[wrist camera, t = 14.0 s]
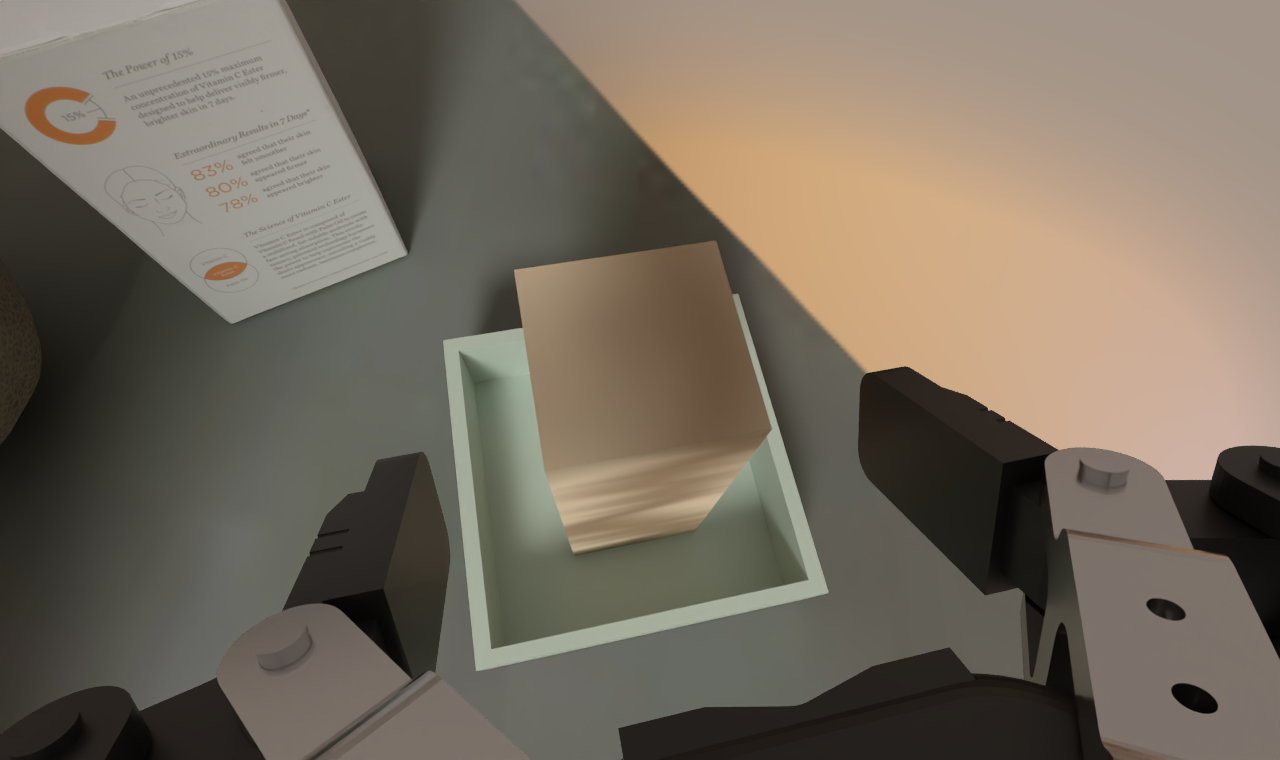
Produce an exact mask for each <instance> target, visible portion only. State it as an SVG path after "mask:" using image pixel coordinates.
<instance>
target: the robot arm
mask: <svg viewBox="0 0 1280 760" xmlns="http://www.w3.org/2000/svg"><path fill="white" fill-rule="evenodd" d="M858 452H859V459H860V462H861V466H862V468H863V471H864V473H865V474H866V476H867V478H868V479H869V480H870V481H871V482H872V483H873V484H874V485H875V486H876V487H877V488H878V489H879V490H880V491H881V492H882V493H883V494H884V495H885V496H886V497H887V498H888V499H889V500H890V501H891V502H892V503H893V504H894V505H895V506H896V507H897V508H898V509H899V510H900V511H901V512H902V513H903V514H904V515H905V516H906V517H907V518H908V519H909V520H910V521H911V522H912V523H913V524H914V525H915V526H916V527H917V528H918V529H919V530H920V531H921V532H922V533H923V534H924V535H925V536H926V537H927V538H928V539H929V540H930V541H931V542H932V543H933V544H934V545H935V546H936V547H937V548H938V549H939V550H940V551H941V552H942V553H943V554H944V555H945V556H946V557H947V558H948V559H949V560H950V561H951V562H952V563H953V564H954V565H955V566H956V567H957V568H958V569H959V570H960V571H961V572H962V573H963V574H964V575H965V576H966V577H967V578H968V579H969V580H970V581H971V582H972V583H973V584H974V585H975V586H976V587H977V588H978V589H979V590H980V591H981V592H982V593H983V594H984V595H989V594H993V593H997V592H1002V591H1006V590H1010V589H1014V588H1019V589H1020V590H1021V591H1023V597H1022V603H1021V610H1020V617H1021V637H1022V656H1023V675H1024V680H1022V679H1017V678H1012V677H1006V676H1000V675H989V674H971V673H970V671H969V670H968V669H967V668H966V667H965V665H964V664H963V663H962V662H961V661H960V659H959V658H958V657H957V656H956V655H955V653H954V652H953V651H952V650H951V649H950V647H949V648H945V649H941V650H937V651H933V652H929V653H925V654H921V655H917V656H913V657H908V658H904V659H900V660H896V661H892V662H888V663H884V664H880V665H876V666H872V667H870V668H868V669H867V670H865V671H863V672H861V673H859V674H858V675H856V676H854V677H852V678H850V679H848V680H847V681H845V682H843V683H841V684H839V685H838V686H836V687H834V688H832V689H830V690H828V691H827V692H825V693H823V694H821V695H819V696H818V697H816V698H814V699H812V700H810V701H809V702H806V703H804V704H802V705H797V706H781V707H704V708H700V709H696V710H691V711H687V712H683V713H679V714H675V715H671V716H667V717H663V718H659V719H655V720H651V721H646V722H642V723H638V724H634V725H630V726H626V727H622V728H618V729H619V735H620V741H621V747H622V753H623V759H621V760H1280V448H1276V447H1267V446H1239V447H1233V448H1229V449H1227V450H1224V451H1223V452H1221V453H1220V454H1219V457H1218V459H1217V463H1216V467H1215V470H1214V473H1213V477H1212V480H1164V478H1163V476H1162V475H1161V474H1160V473H1159V472H1158V471H1157V470H1156V469H1154V468H1153V467H1152V466H1150V465H1148V464H1146V463H1145V462H1143V461H1141V460H1138V459H1136V458H1133V457H1131V456H1128V455H1125V454H1121V453H1118V452H1114V451H1109V450H1103V449H1096V448H1068V449H1063V450H1057V449H1056V448H1054V447H1052V446H1051V445H1049V444H1047V443H1046V442H1044V441H1042V440H1041V439H1039V438H1037V437H1036V436H1034V435H1032V434H1031V433H1029V432H1027V431H1026V430H1024V429H1022V428H1021V427H1019V426H1017V425H1016V424H1014V423H1012V422H1011V421H1005V418H1004V417H1002V416H1001V415H999V414H997V413H995V412H994V411H992V410H991V411H988V408H987V407H986V406H984V405H982V404H981V403H979V402H977V401H976V400H974V399H972V398H971V397H969V396H967V395H964V394H961V393H958V392H955V391H952V390H949V389H946V388H942V387H940V386H939V385H937V384H936V383H934V382H932V381H931V380H929V379H927V378H926V377H924V376H922V375H921V374H919V373H917V372H916V371H914V370H913V369H911V368H909V367H899V368H894V369H888V370H882V371H877V372H871V373H867V374H865V375H864V377H863V378H862V381H861V385H860V407H859V437H858ZM449 566H450V548H449V539H448V533H447V529H446V525H445V521H444V517H443V513H442V510H441V506H440V502H439V499H438V495H437V491H436V488H435V484H434V480H433V476H432V473H431V469H430V466H429V462H428V460H427V457H426V455H425V454H424V453H423V452H419V453H413V454H408V455H402V456H396V457H391V458H385V459H380V460H377V461H376V463H375V466H374V468H373V471H372V473H371V476H370V478H369V481H368V484H367V486H366V489H365V491H362V492H357V493H352V494H348V495H347V496H346V497H345V498H344V499H343V500H342V501H341V502H340V503H338V504H337V505H336V506H335V507H334V508H333V509H332V510H331V511H330V512H329V513H328V514H327V516H326V518H325V520H324V522H323V524H322V526H321V528H320V531H319V533H318V539H315V541H314V544H313V546H312V548H311V550H310V556H308V557H307V559H306V561H305V563H304V565H303V567H302V569H301V571H300V574H299V576H298V578H297V580H296V582H295V584H294V587H293V589H292V591H291V593H290V595H289V597H288V599H287V602H286V604H285V606H284V608H283V610H282V611H281V612H279V613H276V614H274V615H272V616H270V617H268V618H266V619H264V620H262V621H261V622H259V623H258V624H256V625H254V626H253V627H252V628H250V629H249V630H248V631H246V632H245V633H244V634H242V635H241V636H240V637H239V638H238V639H237V640H236V641H235V642H234V643H233V644H232V645H231V646H230V647H229V649H228V650H227V651H226V653H225V654H224V656H223V657H222V659H221V661H220V663H219V666H218V670H217V677H216V678H215V679H213V680H211V681H208V682H206V683H204V684H202V685H200V686H198V687H195V688H193V689H190V690H188V691H186V692H183V693H181V694H179V695H176V696H174V697H172V698H169V699H167V700H165V701H162V702H160V703H158V704H155V705H153V706H151V707H148V708H146V709H144V710H141V711H139V710H138V708H137V706H136V705H135V703H134V701H133V700H132V698H131V696H130V694H129V693H128V692H127V691H126V690H124V689H122V688H119V687H114V686H101V687H94V688H89V689H85V690H82V691H78V692H75V693H72V694H70V695H67V696H65V697H62V698H60V699H58V700H55V701H53V702H51V703H49V704H47V705H45V706H43V707H42V708H40V709H38V710H36V711H34V712H33V713H31V714H29V715H28V716H26V717H25V718H23V719H22V720H20V721H19V722H17V723H16V724H14V725H13V726H12V727H10V728H9V729H7V730H6V731H5V732H4V733H3V734H1V735H0V760H531V759H530V758H529V757H527V756H526V755H525V754H524V753H523V752H522V751H521V750H520V749H519V748H518V747H516V746H515V745H514V744H513V743H512V742H511V741H510V740H509V739H508V738H507V737H506V736H504V735H503V734H502V733H501V732H500V731H499V730H498V729H497V728H496V727H495V726H493V725H492V724H491V723H490V722H489V721H488V720H487V719H486V718H485V717H484V716H483V715H481V714H480V713H479V712H478V711H477V710H476V709H475V708H474V707H473V706H472V705H470V704H469V703H468V702H467V701H466V700H465V699H464V698H463V697H462V696H461V695H460V694H458V693H457V692H456V691H455V690H454V689H453V688H452V687H451V686H450V685H449V684H447V683H446V682H445V681H444V680H443V679H442V678H441V677H440V676H438V675H437V674H435V669H436V662H437V654H438V647H439V640H440V632H441V625H442V617H443V610H444V603H445V595H446V588H447V580H448V573H449Z"/></svg>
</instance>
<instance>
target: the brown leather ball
mask: <svg viewBox="0 0 1280 760" xmlns="http://www.w3.org/2000/svg"><path fill="white" fill-rule="evenodd" d="M41 361H42V354H41V345H40V341H39V338H38V334H37V330H36V327H35V324H34V320H33V317H32V314H31V312H30V310H29V307H28V305H27V303H26V301H25V299H24V297H23V295H22V294H21V292H20V290H19V288H18V286H17V284H16V283H15V281H14V279H13V278H12V276H11V274H10V273H9V271H8V270H7V268H6V267H5V265H4V264H3V262H2V261H1V259H0V445H1V444H2V442H3V441H4V440H5V439H6V437H7V436H8V435H9V434H10V432H11V431H12V429H13V427H14V425H15V424H16V422H17V420H18V418H19V416H20V415H21V413H22V411H23V410H24V408H25V406H26V404H27V403H28V401H29V399H30V397H31V396H32V394H33V392H34V390H35V388H36V386H37V383H38V381H39V378H40V370H41Z"/></svg>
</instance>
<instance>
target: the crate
mask: <svg viewBox="0 0 1280 760" xmlns="http://www.w3.org/2000/svg"><path fill="white" fill-rule="evenodd" d="M732 296H733V299H734V302H735V306H736V309H737V312H738V316H739V319H740V323H741V326H742V329H743V333H744V336H745V339H746V343H747V346H748V350H749V353H750V356H751V360H752V363H753V366H754V370H755V373H756V376H757V380H758V383H759V387H760V390H761V393H762V397H763V400H764V403H765V407H766V410H767V414H768V417H769V420H770V424H771V427H772V430H771V431H770V433H769V434H768V435H767V436H766V438H765V439H764V440H763V442H762V443H761V444H760V446H759V447H758V448H757V450H756V451H755V452H754V454H753V455H752V456H751V458H750V459H749V460H748V462H747V463H746V464H745V466H744V467H743V468H742V470H741V471H740V472H739V474H738V475H737V476H736V478H735V479H734V480H733V482H732V483H731V484H730V486H729V487H728V488H727V489H726V491H725V492H724V493H723V495H722V496H721V497H720V499H719V500H718V501H717V503H716V504H715V505H714V507H713V508H712V509H711V511H710V512H709V513H708V515H707V516H706V517H705V519H704V520H703V521H702V523H701V524H700V525H699V527H698V528H697V529H696V531H695V532H690V533H685V534H680V535H675V536H670V537H666V538H661V539H656V540H651V541H646V542H641V543H636V544H631V545H626V546H621V547H616V548H611V549H606V550H601V551H596V552H591V553H587V554H582V555H577V556H574V554H573V551H572V548H571V545H570V543H569V540H568V537H567V534H566V531H565V528H564V525H563V523H562V520H561V517H560V514H559V511H558V508H557V505H556V503H555V500H554V497H553V494H552V491H551V488H550V485H549V483H548V480H547V477H546V474H545V471H544V465H543V458H542V451H541V445H540V438H539V432H538V425H537V418H536V412H535V405H534V399H533V392H532V385H531V379H530V372H529V366H528V359H527V352H526V346H525V339H524V333H523V328H518V329H512V330H506V331H499V332H493V333H487V334H480V335H474V336H468V337H461V338H455V339H449V340H443V344H444V354H445V364H446V374H447V384H448V394H449V404H450V415H451V425H452V435H453V445H454V455H455V465H456V475H457V485H458V495H459V505H460V515H461V525H462V535H463V545H464V555H465V565H466V575H467V585H468V595H469V605H470V615H471V625H472V635H473V645H474V655H475V665H476V671H480V670H485V669H491V668H497V667H502V666H506V665H511V664H515V663H520V662H524V661H529V660H533V659H538V658H542V657H547V656H551V655H556V654H560V653H565V652H569V651H574V650H578V649H583V648H587V647H592V646H596V645H601V644H605V643H610V642H614V641H619V640H623V639H628V638H632V637H637V636H641V635H646V634H650V633H655V632H659V631H664V630H668V629H673V628H677V627H682V626H686V625H691V624H695V623H700V622H704V621H709V620H713V619H718V618H722V617H727V616H731V615H736V614H740V613H745V612H749V611H754V610H758V609H763V608H767V607H772V606H776V605H781V604H785V603H790V602H794V601H798V600H802V599H806V598H810V597H814V596H818V595H822V594H826V593H829V592H828V589H827V586H826V582H825V579H824V576H823V573H822V569H821V566H820V563H819V559H818V556H817V553H816V549H815V546H814V543H813V539H812V536H811V533H810V530H809V526H808V523H807V520H806V516H805V513H804V510H803V506H802V503H801V500H800V496H799V493H798V490H797V487H796V483H795V480H794V477H793V473H792V470H791V467H790V463H789V460H788V457H787V453H786V450H785V447H784V444H783V440H782V437H781V434H780V430H779V427H778V424H777V420H776V417H775V414H774V410H773V407H772V404H771V401H770V397H769V394H768V391H767V387H766V384H765V381H764V377H763V374H762V371H761V367H760V364H759V361H758V358H757V354H756V351H755V348H754V344H753V341H752V338H751V334H750V331H749V328H748V325H747V321H746V318H745V315H744V311H743V308H742V305H741V301H740V298H739V295H738V294H733V295H732Z"/></svg>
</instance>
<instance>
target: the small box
mask: <svg viewBox="0 0 1280 760" xmlns="http://www.w3.org/2000/svg"><path fill="white" fill-rule="evenodd" d="M0 128H1V129H2V130H3V131H4V132H6V133H7V134H8V135H9V136H10V137H12V138H13V139H14V140H15V141H16V142H17V143H19V144H20V145H21V146H22V147H23V148H24V149H25V150H27V151H28V152H29V153H30V154H31V155H32V156H34V157H35V158H36V159H37V160H38V161H39V162H41V163H42V164H43V165H44V166H45V167H46V168H48V169H49V170H50V171H51V172H52V173H53V174H55V175H56V176H57V177H58V178H59V179H60V180H62V181H63V182H64V183H65V184H66V185H67V186H69V187H70V188H71V189H72V190H73V191H74V192H76V193H77V194H78V195H79V196H80V197H81V198H83V199H84V200H85V201H86V202H87V203H89V204H90V205H91V206H92V207H93V208H95V209H96V210H97V211H98V212H99V213H100V214H101V215H103V216H104V217H105V218H106V219H108V220H109V221H110V222H111V223H112V224H114V225H115V226H116V227H117V228H118V229H119V230H120V231H122V232H123V233H124V234H125V235H126V236H127V237H129V238H130V239H131V240H132V241H133V242H134V243H135V244H137V245H138V246H139V247H140V248H141V249H142V250H143V251H145V252H146V253H147V254H148V255H149V256H150V257H152V258H153V259H154V260H155V261H156V262H158V263H159V264H160V265H161V266H162V267H163V268H164V269H165V270H167V271H168V272H169V273H170V274H171V275H173V276H174V277H175V278H176V279H177V280H179V281H180V282H181V283H182V284H183V285H184V286H186V287H187V288H188V289H189V290H190V291H192V292H193V293H194V294H195V295H196V296H197V297H199V298H200V299H201V300H202V301H203V302H205V303H206V304H207V305H208V306H209V307H211V308H212V309H213V310H214V311H215V312H217V313H218V314H219V315H220V316H221V317H223V318H224V319H225V320H226V321H228V322H229V323H231V324H233V323H236V322H238V321H241V320H243V319H246V318H248V317H250V316H253V315H256V314H258V313H261V312H263V311H266V310H268V309H271V308H274V307H276V306H279V305H281V304H284V303H286V302H289V301H291V300H294V299H297V298H299V297H302V296H304V295H307V294H309V293H312V292H315V291H317V290H320V289H322V288H325V287H327V286H330V285H332V284H335V283H337V282H340V281H342V280H345V279H347V278H350V277H352V276H355V275H357V274H360V273H363V272H365V271H368V270H370V269H373V268H375V267H378V266H380V265H383V264H385V263H388V262H391V261H393V260H395V259H398V258H401V257H403V256H406V255H407V254H408V252H407V249H406V247H405V245H404V243H403V240H402V238H401V236H400V234H399V231H398V229H397V227H396V225H395V223H394V220H393V218H392V216H391V214H390V212H389V209H388V207H387V205H386V203H385V201H384V198H383V196H382V194H381V192H380V190H379V187H378V185H377V183H376V181H375V179H374V177H373V175H372V172H371V170H370V168H369V166H368V164H367V162H366V160H365V158H364V156H363V153H362V151H361V149H360V147H359V145H358V143H357V141H356V139H355V137H354V135H353V133H352V131H351V129H350V127H349V125H348V123H347V121H346V119H345V117H344V115H343V113H342V111H341V109H340V107H339V104H338V102H337V100H336V98H335V96H334V94H333V93H332V91H331V89H330V87H329V85H328V83H327V81H326V79H325V77H324V75H323V73H322V71H321V69H320V67H319V65H318V63H317V61H316V59H315V57H314V55H313V53H312V51H311V49H310V47H309V45H308V43H307V41H306V39H305V37H304V35H303V33H302V31H301V30H300V28H299V26H298V24H297V22H296V20H295V18H294V16H293V14H292V12H291V10H290V8H289V6H288V4H287V2H286V0H0Z"/></svg>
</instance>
